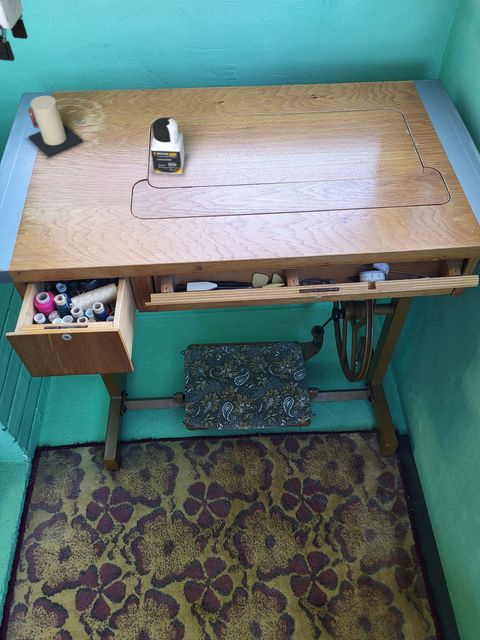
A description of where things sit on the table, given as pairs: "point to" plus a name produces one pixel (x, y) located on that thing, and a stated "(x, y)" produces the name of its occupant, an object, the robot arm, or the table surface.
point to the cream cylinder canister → (47, 119)
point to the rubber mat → (55, 149)
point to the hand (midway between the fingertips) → (14, 48)
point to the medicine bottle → (167, 147)
